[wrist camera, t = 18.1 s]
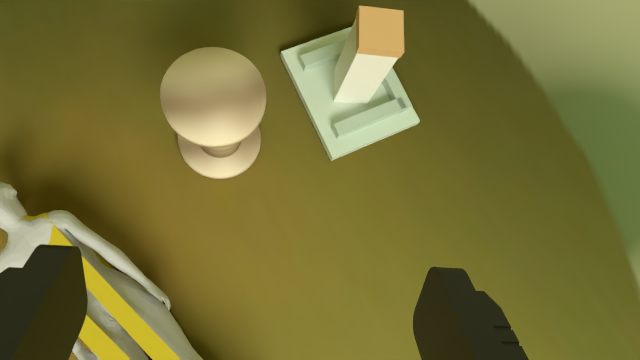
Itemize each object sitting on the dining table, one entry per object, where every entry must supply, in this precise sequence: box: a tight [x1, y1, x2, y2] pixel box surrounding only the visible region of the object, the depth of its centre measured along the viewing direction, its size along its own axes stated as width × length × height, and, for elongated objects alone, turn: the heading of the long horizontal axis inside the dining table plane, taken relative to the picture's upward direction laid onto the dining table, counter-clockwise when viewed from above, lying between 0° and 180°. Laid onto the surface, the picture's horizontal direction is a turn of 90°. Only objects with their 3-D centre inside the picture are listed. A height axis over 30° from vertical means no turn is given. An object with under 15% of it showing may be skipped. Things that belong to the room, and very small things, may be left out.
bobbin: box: [160, 47, 266, 179], centre depth 40 cm, size 8×8×11 cm
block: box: [334, 6, 404, 104], centre depth 42 cm, size 4×4×11 cm
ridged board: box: [280, 27, 420, 161], centre depth 48 cm, size 12×10×2 cm
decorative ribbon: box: [0, 182, 204, 360], centre depth 38 cm, size 8×6×30 cm
